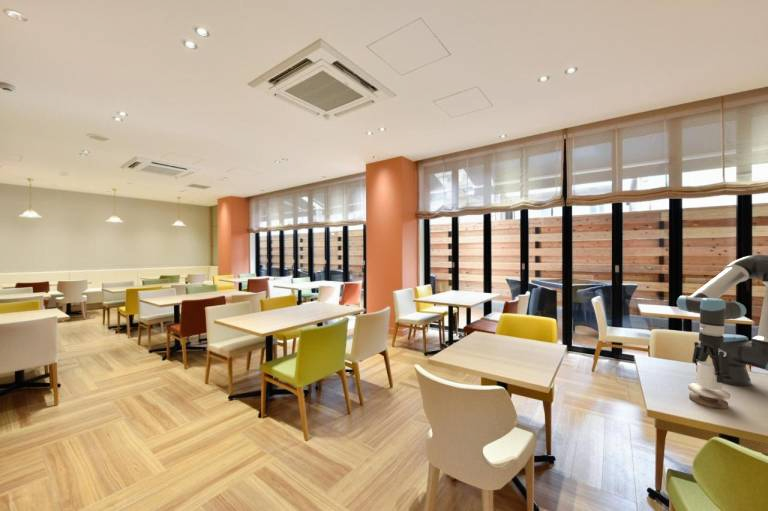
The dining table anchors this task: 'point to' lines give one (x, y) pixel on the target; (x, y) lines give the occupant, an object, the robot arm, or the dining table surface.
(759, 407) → the dining table surface
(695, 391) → the cake stand
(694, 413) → the dining table surface
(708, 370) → the white cup
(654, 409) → the dining table surface
